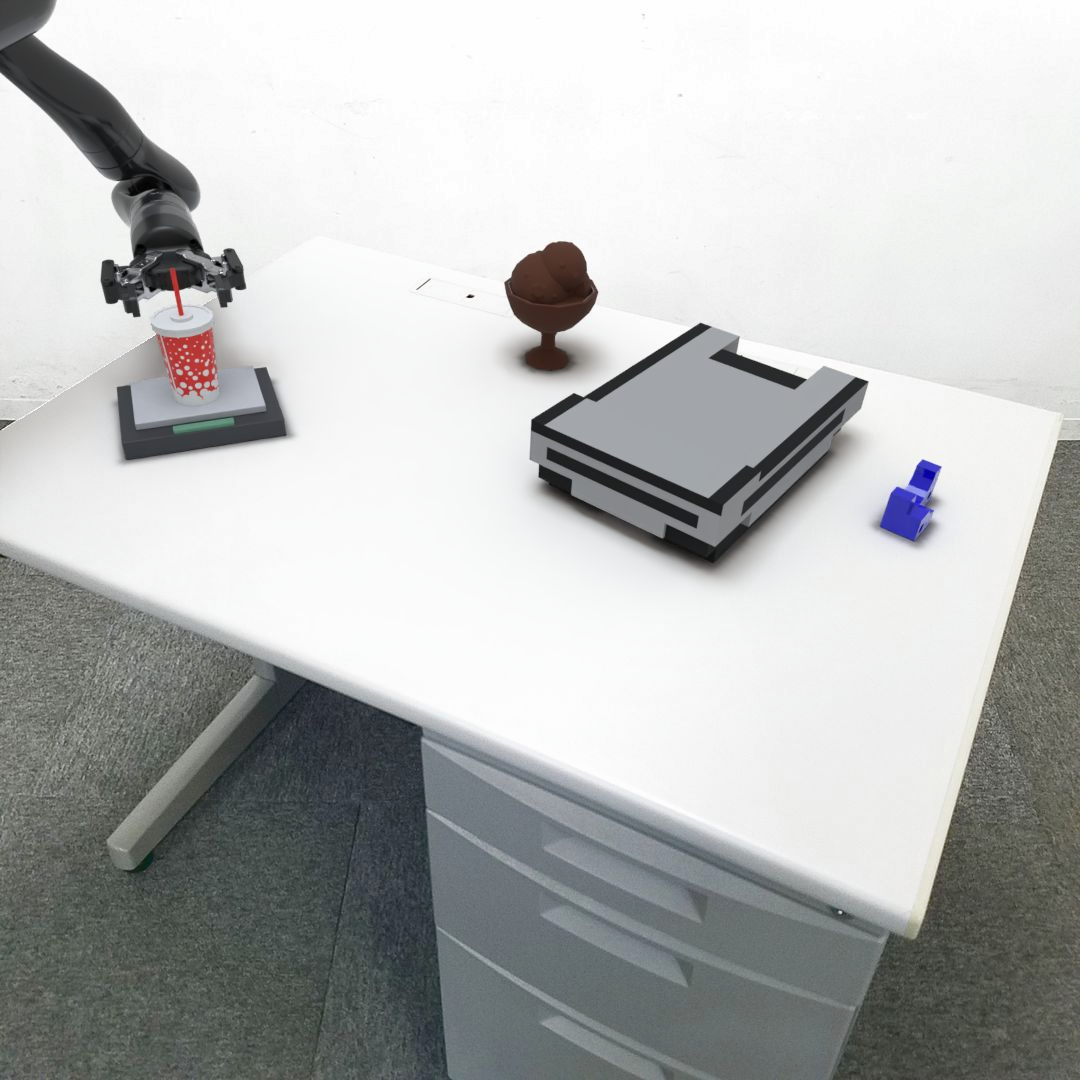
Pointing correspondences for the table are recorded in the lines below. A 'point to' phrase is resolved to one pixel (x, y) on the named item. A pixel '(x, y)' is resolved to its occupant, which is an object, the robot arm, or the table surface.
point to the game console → (693, 439)
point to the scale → (198, 414)
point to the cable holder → (912, 503)
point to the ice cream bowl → (551, 298)
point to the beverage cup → (188, 349)
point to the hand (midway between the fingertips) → (179, 303)
